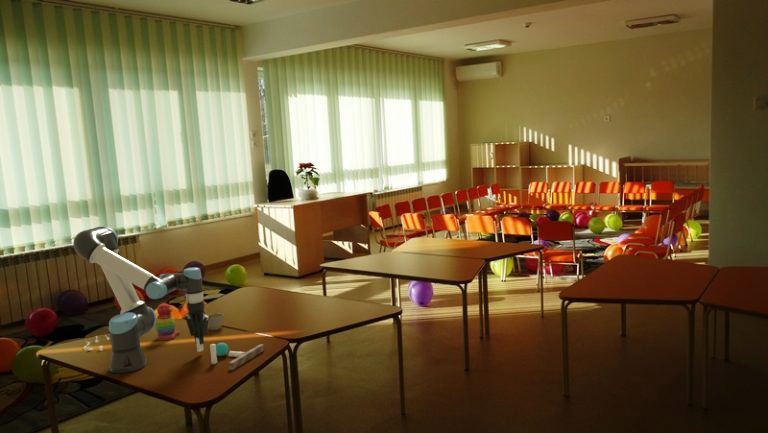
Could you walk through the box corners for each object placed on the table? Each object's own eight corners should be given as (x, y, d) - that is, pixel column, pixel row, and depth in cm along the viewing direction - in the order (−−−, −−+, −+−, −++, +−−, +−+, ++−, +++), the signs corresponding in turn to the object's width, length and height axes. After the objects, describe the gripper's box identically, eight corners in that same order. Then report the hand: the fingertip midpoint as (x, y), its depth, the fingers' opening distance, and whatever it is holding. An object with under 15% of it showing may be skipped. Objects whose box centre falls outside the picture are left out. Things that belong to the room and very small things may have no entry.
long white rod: (232, 370, 249) (232, 363, 249) (229, 369, 250) (228, 362, 249) (264, 350, 271) (263, 344, 271) (260, 350, 272) (259, 344, 271)
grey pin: (215, 364, 257) (213, 345, 256) (210, 364, 258) (208, 345, 257) (218, 362, 259) (216, 344, 258) (214, 362, 260) (212, 343, 259)
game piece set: (114, 336, 309) (113, 329, 308) (133, 343, 296) (132, 335, 296) (76, 348, 294) (75, 340, 294) (94, 355, 281) (93, 347, 281)
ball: (221, 342, 264) (210, 345, 266) (224, 356, 264) (213, 358, 265) (229, 340, 270) (218, 342, 272) (232, 353, 269) (221, 355, 271)
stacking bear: (173, 340, 296) (169, 306, 294) (153, 341, 296) (149, 307, 294) (181, 333, 306) (177, 300, 304) (162, 334, 307) (158, 301, 305)
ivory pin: (228, 353, 265) (243, 354, 262) (231, 349, 267) (246, 351, 264) (229, 357, 266) (245, 358, 263) (232, 354, 268) (247, 355, 265)
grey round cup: (204, 328, 313) (202, 315, 312) (223, 324, 317) (221, 312, 316) (206, 333, 304) (205, 319, 303) (226, 329, 308) (225, 316, 307)
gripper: (212, 299, 269) (217, 348, 272) (189, 298, 274) (194, 346, 277) (201, 304, 262) (206, 354, 265) (178, 302, 267) (183, 352, 270)
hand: (200, 350), depth 271 cm, fingers closed
